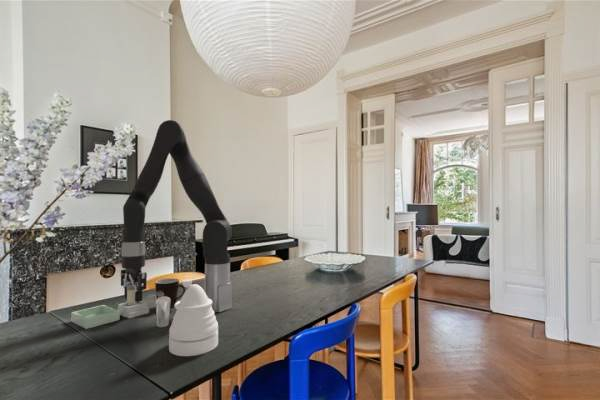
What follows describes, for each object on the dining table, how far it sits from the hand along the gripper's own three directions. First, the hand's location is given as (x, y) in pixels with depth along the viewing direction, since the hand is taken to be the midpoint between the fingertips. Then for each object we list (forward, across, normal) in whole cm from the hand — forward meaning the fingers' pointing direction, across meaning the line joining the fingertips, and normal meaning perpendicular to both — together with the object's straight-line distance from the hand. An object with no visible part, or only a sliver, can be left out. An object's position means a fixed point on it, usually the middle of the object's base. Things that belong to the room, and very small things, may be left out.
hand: (133, 299), depth 113 cm
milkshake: (+5, -20, +1) cm, 21 cm away
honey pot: (+5, -41, +4) cm, 42 cm away
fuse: (+3, 0, 0) cm, 3 cm away
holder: (+5, 0, 0) cm, 5 cm away
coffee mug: (+5, -5, -11) cm, 13 cm away
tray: (+5, +3, +11) cm, 12 cm away
